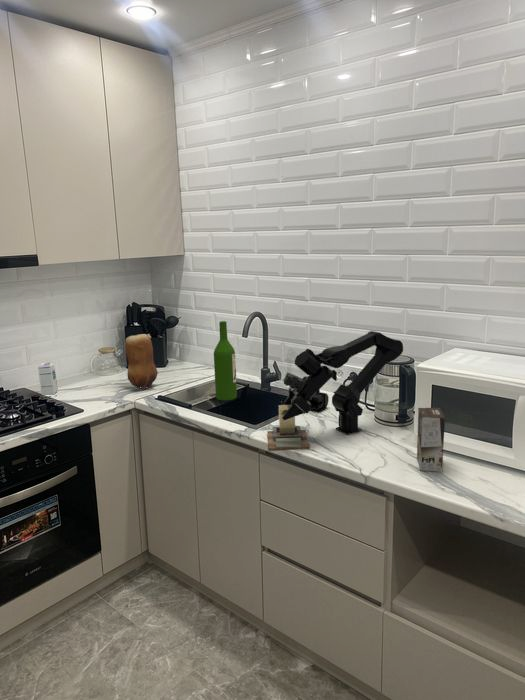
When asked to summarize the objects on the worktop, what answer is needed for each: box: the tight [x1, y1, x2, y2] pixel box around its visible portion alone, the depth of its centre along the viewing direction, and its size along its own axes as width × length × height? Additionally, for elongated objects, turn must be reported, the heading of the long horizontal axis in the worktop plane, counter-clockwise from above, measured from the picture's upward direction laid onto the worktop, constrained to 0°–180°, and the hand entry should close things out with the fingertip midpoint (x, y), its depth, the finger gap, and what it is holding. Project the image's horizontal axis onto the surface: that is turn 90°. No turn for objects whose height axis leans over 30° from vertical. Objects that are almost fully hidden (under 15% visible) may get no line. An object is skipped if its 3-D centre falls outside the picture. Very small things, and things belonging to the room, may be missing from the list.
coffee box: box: [416, 407, 446, 472], centre depth 153 cm, size 9×6×16 cm
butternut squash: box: [124, 333, 159, 389], centre depth 241 cm, size 14×13×25 cm
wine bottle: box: [213, 320, 238, 402], centre depth 222 cm, size 9×9×32 cm
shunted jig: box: [267, 425, 310, 451], centre depth 176 cm, size 15×13×3 cm
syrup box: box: [37, 362, 59, 396], centre depth 235 cm, size 6×6×14 cm
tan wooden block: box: [278, 404, 296, 436], centre depth 177 cm, size 5×5×10 cm
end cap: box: [309, 391, 329, 414], centre depth 207 cm, size 10×7×7 cm
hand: (282, 414), depth 177 cm, fingers open, 9 cm apart
